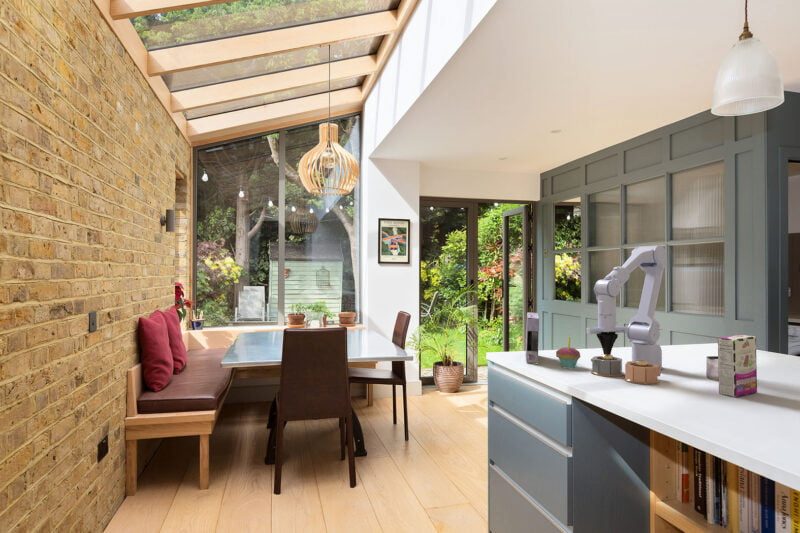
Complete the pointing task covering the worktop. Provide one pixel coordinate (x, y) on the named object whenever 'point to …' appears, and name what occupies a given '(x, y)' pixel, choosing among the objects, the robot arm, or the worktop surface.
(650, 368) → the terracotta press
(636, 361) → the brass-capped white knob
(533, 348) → the cake pan box
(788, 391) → the worktop surface
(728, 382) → the candy bar box
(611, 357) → the brass-capped silver knob
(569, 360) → the cupcake
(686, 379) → the worktop surface
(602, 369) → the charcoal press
